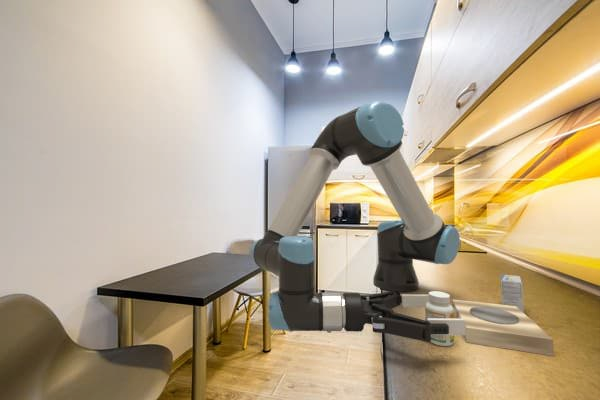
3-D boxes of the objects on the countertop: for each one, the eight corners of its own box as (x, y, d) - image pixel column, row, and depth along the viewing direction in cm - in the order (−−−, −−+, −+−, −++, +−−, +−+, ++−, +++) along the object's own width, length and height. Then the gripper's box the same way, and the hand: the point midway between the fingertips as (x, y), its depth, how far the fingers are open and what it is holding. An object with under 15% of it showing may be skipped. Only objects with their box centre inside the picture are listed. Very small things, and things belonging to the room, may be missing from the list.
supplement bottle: (435, 347, 53) (434, 298, 53) (420, 334, 58) (419, 290, 58) (460, 346, 53) (459, 297, 54) (443, 333, 59) (442, 289, 59)
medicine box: (524, 317, 67) (523, 282, 67) (501, 313, 70) (500, 279, 70) (522, 307, 73) (521, 276, 74) (501, 304, 76) (501, 273, 76)
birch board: (452, 310, 72) (452, 297, 72) (516, 318, 66) (515, 304, 66) (466, 342, 55) (466, 325, 55) (553, 355, 50) (553, 337, 50)
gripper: (336, 307, 69) (420, 308, 68) (352, 364, 44) (484, 366, 43) (336, 278, 69) (419, 278, 68) (352, 318, 44) (483, 319, 43)
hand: (445, 312), depth 56 cm, fingers open, 13 cm apart
